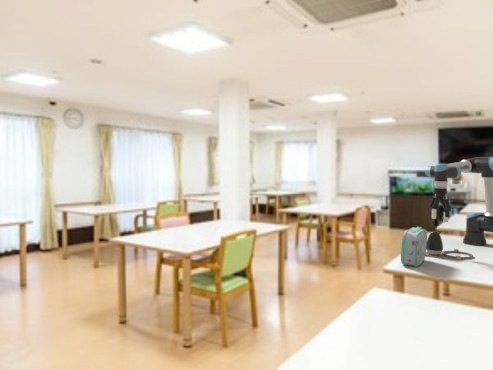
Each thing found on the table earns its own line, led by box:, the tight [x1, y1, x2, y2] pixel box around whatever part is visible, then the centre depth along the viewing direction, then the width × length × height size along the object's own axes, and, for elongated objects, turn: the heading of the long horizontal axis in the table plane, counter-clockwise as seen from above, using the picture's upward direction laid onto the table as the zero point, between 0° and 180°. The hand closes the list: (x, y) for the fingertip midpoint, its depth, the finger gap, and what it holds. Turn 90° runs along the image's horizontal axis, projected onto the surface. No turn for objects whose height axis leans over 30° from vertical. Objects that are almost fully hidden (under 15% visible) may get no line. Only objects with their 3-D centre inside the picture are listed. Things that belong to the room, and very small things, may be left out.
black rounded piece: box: [426, 230, 444, 255], centre depth 254 cm, size 10×10×15 cm
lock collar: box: [442, 248, 474, 261], centre depth 254 cm, size 22×18×2 cm
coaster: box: [425, 251, 445, 259], centre depth 255 cm, size 11×11×1 cm
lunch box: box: [400, 226, 428, 268], centre depth 235 cm, size 27×10×21 cm, turn 145°
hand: (439, 220), depth 254 cm, fingers open, 13 cm apart
